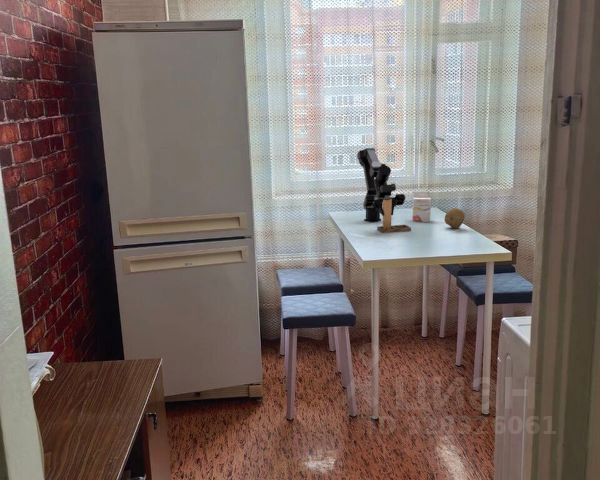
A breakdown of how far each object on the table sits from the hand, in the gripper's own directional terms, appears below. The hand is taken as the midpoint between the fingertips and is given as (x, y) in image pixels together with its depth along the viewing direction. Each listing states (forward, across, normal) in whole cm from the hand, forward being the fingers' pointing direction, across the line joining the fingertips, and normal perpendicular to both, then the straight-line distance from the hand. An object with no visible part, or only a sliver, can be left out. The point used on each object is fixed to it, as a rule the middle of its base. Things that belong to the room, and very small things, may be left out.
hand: (387, 215), depth 288 cm
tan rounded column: (+4, 0, +6) cm, 7 cm away
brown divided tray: (+5, +4, +7) cm, 9 cm away
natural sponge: (+6, +32, +6) cm, 33 cm away
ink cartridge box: (-9, +23, +21) cm, 32 cm away
